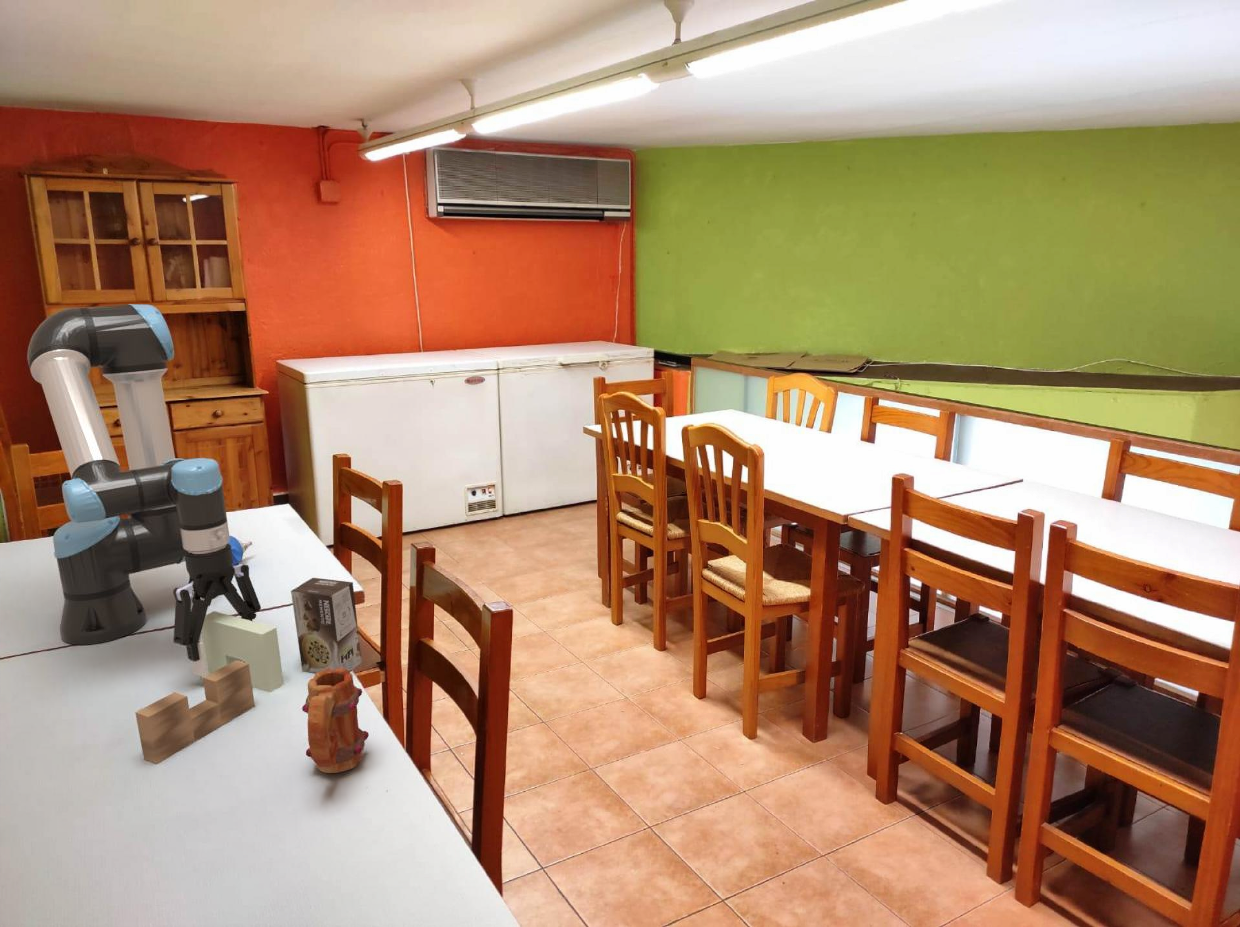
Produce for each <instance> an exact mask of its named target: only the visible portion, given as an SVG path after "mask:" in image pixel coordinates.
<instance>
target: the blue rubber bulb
mask: <svg viewBox="0 0 1240 927" xmlns="http://www.w3.org/2000/svg"><path fill="white" fill-rule="evenodd" d="M229 536H230V541H229V544H230V545H231V549H232V556H233V564H232V566H235V564H237V563H239V564H241V563H242V561H243V556H244V554H245V552H246V551H247V550H248V548H249V547H250V546H252V545H253V542H252V541H248V542H242V541H241V540H239V539H237V538H236V537H234V536H232V535H229Z"/></svg>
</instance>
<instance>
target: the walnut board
mask: <svg viewBox="0 0 1240 927" xmlns="http://www.w3.org/2000/svg"><path fill="white" fill-rule="evenodd" d="M208 674H209V675H207V676H205V677H202V681H203V682H202V684H203V690H204V695H205V696H204V697H205V699H204V700H203V701H201V702H199V703H198V704H196V705H193V706H192V707H190V705H189V698H188V696H187V695H184V694H181V693H179V692H176V691H173V692H172V693H171V694H168V695H165V697H163V698H160V699H159V700H157V701H154V702H152V703H151V704H149V705H147V706H145V707H143V708H141V709H139V710H137V711H135V717H136V724H137V728H138V734H139V740H140V744H141V752H142V755H143V759H144V760H146V761H148V762H151V763H153V764H155V765H158V764H159V763H161V762H162V761H163V762H164V761H165V760H166V759H167V758H169V757H171V756H173V755H175V754H176V753H178V752H180V751H181V750H183V749H185V748H186V747H188V746H190V745H192V744H193V743H195V742H197V741H198V740H200V739H202V738H203V737H205V736H207V735H209V734H210V733H212V732H214V731H215V730H217V729H219V728H221V727H223V726H224V725H226V724H228V723H229V722H231V721H232V720H234V719H236V718H238V717H239V716H242V715H243V714H244V713H246V712H249V711H250V710H251V709H253V708H255V707H256V705H255V699H254V698H255V697H254V691H253V687H252V682H251V675H250V669H249V664H248V663H245V661H242V660H241V661H238V660H236V661H234V662H232V663H230V664H228V665H226V666H224V667H222V668H220V669H218V670H216V671H214V672H212V673H208Z"/></svg>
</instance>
